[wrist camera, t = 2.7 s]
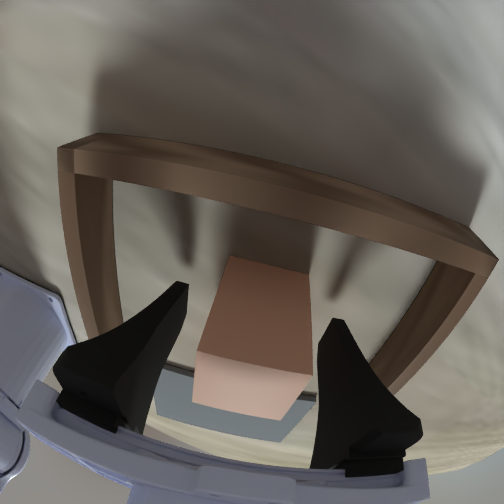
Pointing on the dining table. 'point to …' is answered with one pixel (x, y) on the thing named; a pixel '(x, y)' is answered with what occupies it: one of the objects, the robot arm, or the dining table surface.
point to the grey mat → (220, 410)
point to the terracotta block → (256, 341)
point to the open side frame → (275, 202)
